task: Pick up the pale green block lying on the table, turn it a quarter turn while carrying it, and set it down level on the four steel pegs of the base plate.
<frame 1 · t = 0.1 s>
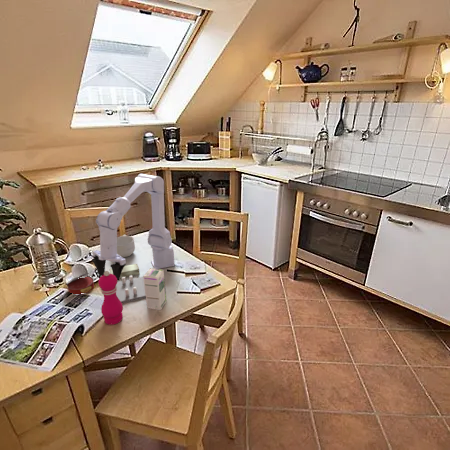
hand: (109, 277, 118), 10 cm above the table, tool pointing down, fingers open, 7 cm apart
teacup: (125, 253, 157), on the table
canned food: (81, 288, 129), on the table
syrup box: (156, 305, 120), on the table
peg stand: (129, 291, 128), on the table
pale green block: (125, 274, 140), on the table
pepper mill: (113, 319, 112), on the table
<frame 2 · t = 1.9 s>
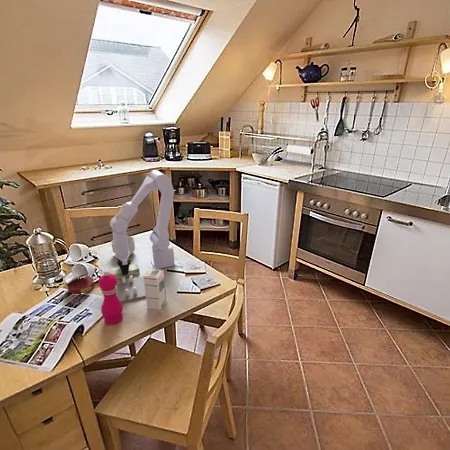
hand: (124, 271, 139), 1 cm above the table, tool pointing down, fingers closed on pale green block, 5 cm apart
pale green block: (125, 274, 140), on the table, touching gripper
everything else where it was.
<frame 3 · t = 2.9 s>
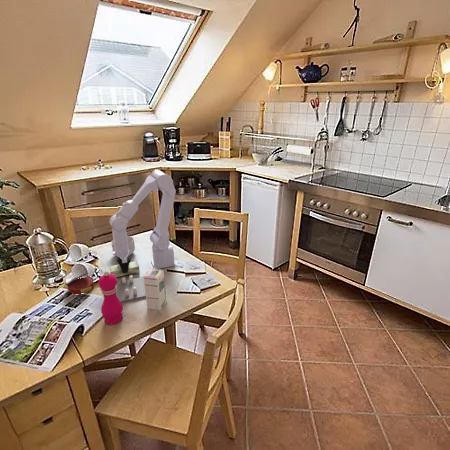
hand: (124, 269, 139), 2 cm above the table, tool pointing down, fingers closed on pale green block, 5 cm apart
pale green block: (124, 272, 139), point 1 cm above the table, touching gripper
everything else where it was.
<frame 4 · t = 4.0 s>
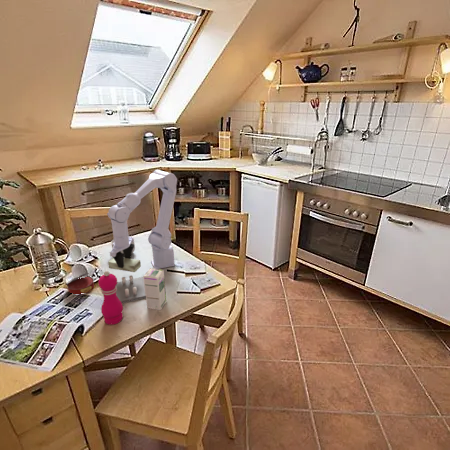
hand: (124, 263, 131), 8 cm above the table, tool pointing down, fingers closed on pale green block, 5 cm apart
pale green block: (125, 267, 132), point 7 cm above the table, touching gripper
everything else where it was.
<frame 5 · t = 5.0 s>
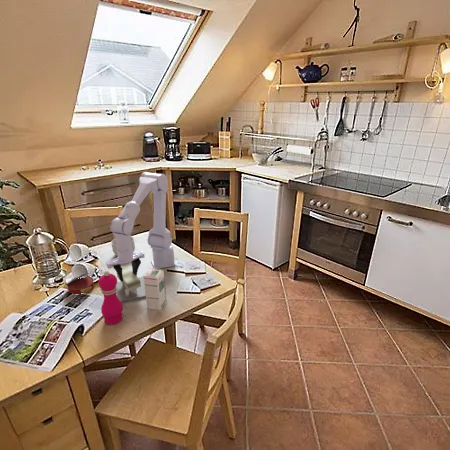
hand: (128, 277, 125), 6 cm above the table, tool pointing down, fingers closed on pale green block, 5 cm apart
pale green block: (128, 281, 126), point 5 cm above the table, touching gripper
everything else where it was.
when the fingers open (6 cm above the table, at t = 5.7 s): pale green block stays where it is, resting on peg stand.
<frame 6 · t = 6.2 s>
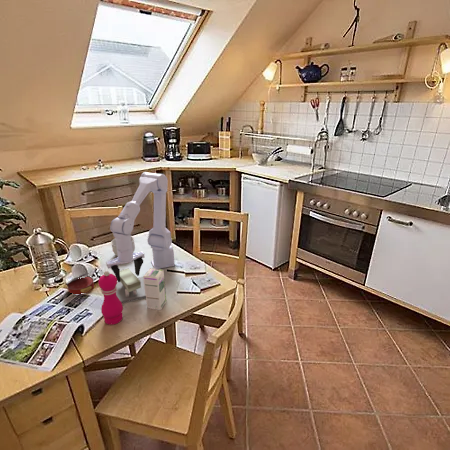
hand: (128, 277, 125), 6 cm above the table, tool pointing down, fingers open, 7 cm apart
pale green block: (128, 282, 126), point 4 cm above the table, touching peg stand
everything else where it was.
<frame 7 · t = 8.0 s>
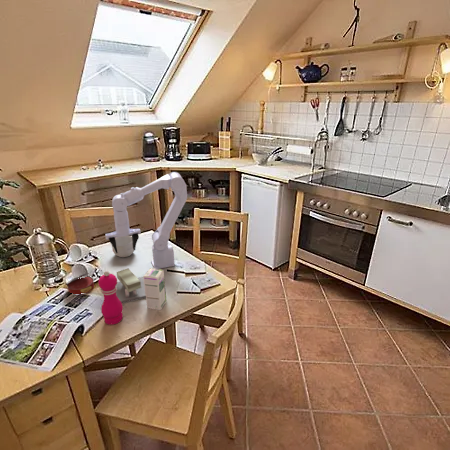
hand: (125, 250, 140), 9 cm above the table, tool pointing down, fingers open, 7 cm apart
nothing on the table moved.
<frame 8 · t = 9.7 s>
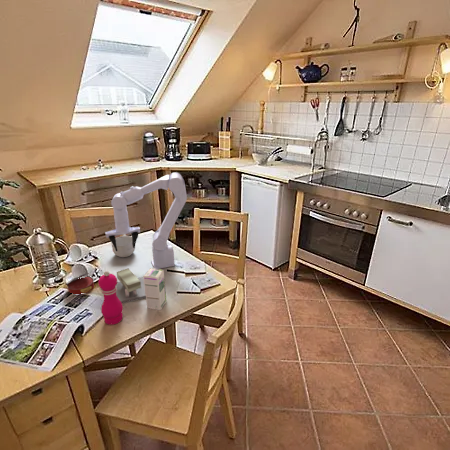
hand: (125, 248, 142), 9 cm above the table, tool pointing down, fingers open, 7 cm apart
nothing on the table moved.
at the end: pale green block 0.0 cm off-centre on the peg stand, point 4.0 cm above the peg stand's base; pale green block tilted 0°; the gripper is holding nothing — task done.
